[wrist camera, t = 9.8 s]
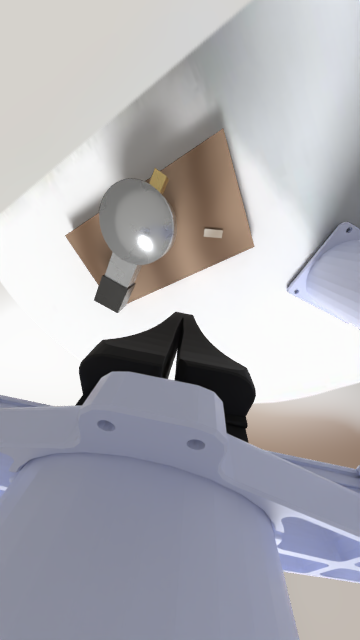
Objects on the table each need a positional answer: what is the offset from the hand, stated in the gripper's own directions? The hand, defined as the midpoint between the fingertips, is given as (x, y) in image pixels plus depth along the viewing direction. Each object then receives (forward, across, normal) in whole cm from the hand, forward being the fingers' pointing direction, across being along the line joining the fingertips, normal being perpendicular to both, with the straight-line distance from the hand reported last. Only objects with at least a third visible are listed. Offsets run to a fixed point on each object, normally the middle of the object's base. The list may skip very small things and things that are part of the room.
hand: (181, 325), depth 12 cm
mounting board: (+10, +4, -5) cm, 12 cm away
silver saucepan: (+7, +6, -4) cm, 10 cm away
